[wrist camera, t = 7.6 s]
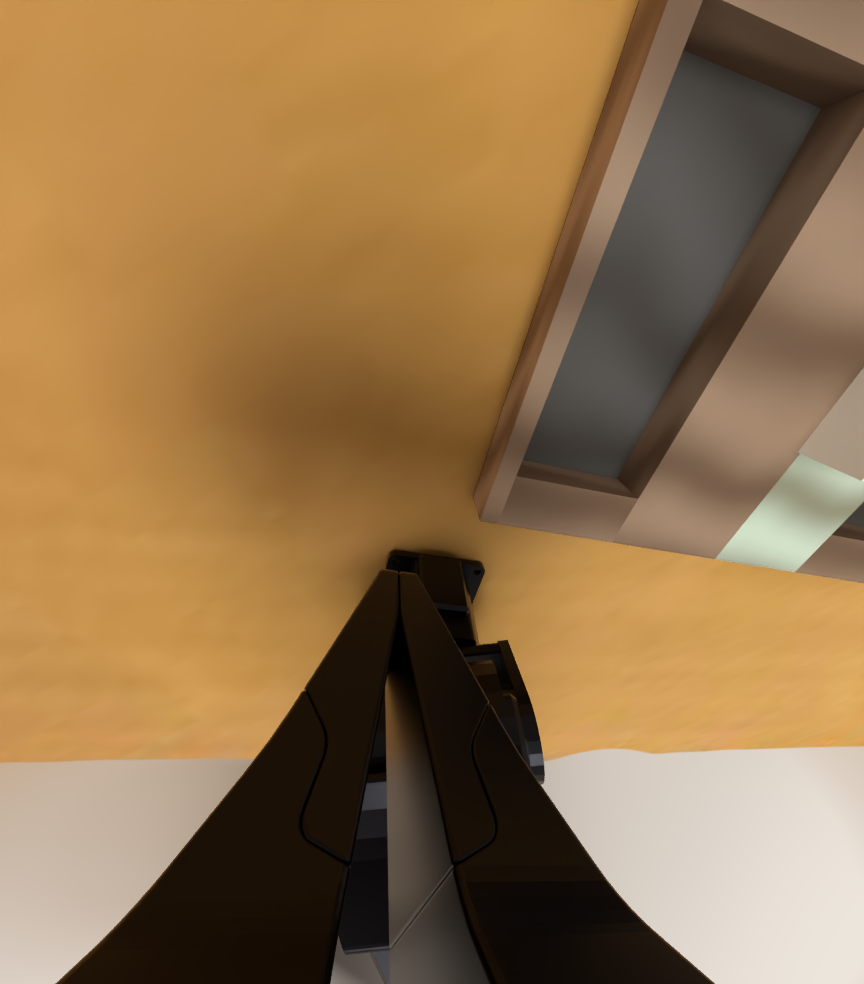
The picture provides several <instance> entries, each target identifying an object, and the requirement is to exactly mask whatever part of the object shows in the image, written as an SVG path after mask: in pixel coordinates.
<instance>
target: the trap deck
mask: <svg viewBox="0 0 864 984" xmlns="http://www.w3.org/2000/svg"><path fill="white" fill-rule="evenodd" d="M863 368H864V0H639V3H638V6H637V9H636V12H635V15H634V18H633V21H632V24H631V27H630V30H629V33H628V36H627V39H626V42H625V45H624V48H623V51H622V54H621V57H620V60H619V63H618V66H617V69H616V72H615V75H614V78H613V81H612V84H611V87H610V90H609V93H608V96H607V99H606V102H605V105H604V108H603V111H602V114H601V117H600V119H599V122H598V125H597V128H596V131H595V134H594V137H593V140H592V143H591V146H590V149H589V152H588V155H587V158H586V161H585V164H584V167H583V170H582V173H581V176H580V179H579V182H578V185H577V188H576V191H575V194H574V197H573V200H572V203H571V206H570V209H569V212H568V215H567V218H566V221H565V224H564V227H563V230H562V233H561V236H560V239H559V242H558V245H557V248H556V251H555V254H554V257H553V260H552V263H551V266H550V269H549V272H548V275H547V278H546V281H545V284H544V287H543V290H542V293H541V296H540V299H539V302H538V304H537V307H536V310H535V313H534V316H533V319H532V322H531V325H530V328H529V331H528V334H527V337H526V340H525V343H524V346H523V349H522V352H521V355H520V358H519V361H518V364H517V367H516V370H515V373H514V376H513V379H512V382H511V385H510V388H509V391H508V394H507V397H506V400H505V403H504V406H503V409H502V412H501V415H500V418H499V421H498V424H497V427H496V430H495V433H494V436H493V439H492V442H491V445H490V448H489V451H488V454H487V457H486V460H485V463H484V466H483V469H482V472H481V475H480V478H479V481H478V484H477V487H476V489H475V492H474V495H473V499H474V502H475V506H476V509H477V512H478V516H479V519H480V521H483V522H489V523H495V524H501V525H508V526H514V527H520V528H526V529H532V530H538V531H545V532H551V533H557V534H563V535H569V536H575V537H582V538H588V539H594V540H600V541H606V542H612V543H619V544H625V545H631V546H637V547H643V548H649V549H656V550H662V551H668V552H674V553H680V554H686V555H693V556H699V557H705V558H711V559H717V560H723V561H730V562H736V563H742V564H748V565H754V566H760V567H767V568H773V569H779V570H785V571H791V572H797V573H804V574H810V575H816V576H822V577H828V578H834V579H841V580H847V581H853V582H859V583H864V481H861V480H858V479H856V478H854V477H852V476H849V475H847V474H845V473H842V472H840V471H838V470H836V469H833V468H831V467H829V466H827V465H824V464H822V463H820V462H818V461H815V460H813V459H811V458H809V457H806V456H804V455H802V454H800V453H797V452H798V451H799V450H800V448H801V447H802V446H803V445H804V443H805V442H806V441H807V440H808V438H809V437H810V436H811V434H812V433H813V432H814V431H815V429H816V428H817V427H818V425H819V424H820V423H821V422H822V420H823V419H824V418H825V416H826V415H827V414H828V413H829V411H830V410H831V409H832V407H833V406H834V405H835V404H836V402H837V401H838V400H839V398H840V397H841V396H842V395H843V393H844V392H845V391H846V389H847V388H848V387H849V386H850V384H851V383H852V382H853V380H854V379H855V378H856V377H857V375H858V374H859V373H860V371H861V370H862V369H863Z"/></svg>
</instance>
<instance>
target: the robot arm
mask: <svg viewBox="0 0 864 984" xmlns="http://www.w3.org/2000/svg"><path fill="white" fill-rule="evenodd" d="M393 558H398V559H397V560H395V559H393ZM476 569H479V570H477V571H475V570H476ZM484 573H485V570H484V566H483V564H481V563H479V562H472V561H465V560H458V559H451V558H444V557H437V556H430V555H423V554H416V553H409V552H402V551H392V552H390V553H389V555H388V559H387V563H386V568H385V569H382V570H381V571H380V572H379V573H378V575H377V576H376V578H375V579H374V581H373V583H372V584H371V586H370V587H369V589H368V590H367V592H366V593H365V595H364V597H363V598H362V600H361V601H360V603H359V604H358V606H357V607H356V609H355V610H354V612H353V614H352V615H351V617H350V618H349V620H348V621H347V623H346V624H345V626H344V628H343V629H342V631H341V632H340V634H339V635H338V637H337V638H336V640H335V641H334V643H333V645H332V646H331V648H330V649H329V651H328V652H327V654H326V655H325V657H324V659H323V660H322V662H321V663H320V665H319V666H318V668H317V669H316V671H315V673H314V674H313V676H312V677H311V679H310V680H309V682H308V683H307V685H306V686H305V689H304V691H302V692H301V694H300V695H299V697H298V698H297V700H296V702H295V703H294V705H293V706H292V708H291V709H290V711H289V712H288V714H287V715H286V717H285V718H284V719H283V721H282V722H281V724H280V725H279V727H278V728H277V730H276V731H275V733H274V734H273V735H272V737H271V738H270V740H269V741H268V742H267V744H266V745H265V746H264V748H263V749H262V750H261V752H260V753H259V754H258V755H257V757H256V758H255V759H254V761H253V762H252V763H251V765H250V766H249V767H248V768H247V770H246V771H245V772H244V774H243V775H242V776H241V777H240V779H239V780H238V781H237V782H236V784H235V785H234V786H233V787H232V788H231V790H230V791H229V792H228V794H227V795H226V796H225V797H224V798H223V800H222V801H221V802H220V803H219V805H218V806H217V807H216V808H215V810H214V811H213V812H212V813H211V814H210V816H209V817H208V818H207V820H206V821H205V822H204V823H203V824H202V826H201V827H200V828H199V829H198V831H197V832H196V833H195V834H194V835H193V837H192V838H191V839H190V841H189V842H188V843H187V844H186V845H185V847H184V848H183V849H182V850H181V852H180V853H179V854H178V855H177V857H176V858H175V859H174V860H173V862H172V863H171V864H170V865H169V866H168V868H167V869H166V870H165V871H164V872H163V873H162V875H161V876H160V877H159V878H158V879H157V881H156V882H155V883H154V884H153V886H152V887H151V888H150V889H149V890H148V891H147V892H146V893H145V894H144V896H143V897H142V898H141V899H140V900H139V901H138V903H137V904H136V905H135V906H134V907H133V908H132V909H131V910H130V911H129V912H128V913H127V915H126V916H125V917H124V918H123V919H122V920H121V921H120V922H119V923H118V924H117V925H116V926H115V927H114V928H113V930H111V931H110V932H109V934H107V936H106V937H105V938H104V939H103V940H102V941H101V942H100V943H99V944H98V945H97V946H95V948H93V949H92V950H91V951H90V952H89V953H88V954H87V955H86V956H85V957H84V958H83V959H81V960H80V961H79V962H78V963H77V964H76V965H75V966H74V967H73V968H72V969H71V970H70V971H69V972H68V973H66V974H65V975H64V976H63V977H62V978H61V979H60V980H59V981H58V982H57V983H56V984H330V982H331V976H332V969H333V963H334V957H335V951H336V945H337V939H338V936H339V939H340V942H341V945H342V948H343V951H344V953H345V954H346V955H356V954H365V953H370V955H371V957H372V959H373V961H374V963H375V965H376V967H377V970H378V971H379V974H380V976H381V978H382V980H383V982H384V984H714V983H713V982H712V981H711V980H710V979H709V978H708V977H707V976H705V975H704V974H703V973H702V972H701V971H700V970H698V969H697V968H696V967H695V966H694V965H693V964H692V963H690V962H689V961H688V960H687V959H686V958H684V957H683V956H682V955H681V954H680V953H679V952H678V951H677V950H675V949H674V948H673V947H672V946H671V945H670V944H668V943H667V942H666V941H665V940H664V939H663V938H662V937H661V936H659V935H658V934H657V933H656V932H655V931H654V930H653V929H651V928H650V927H649V926H648V925H647V924H646V923H645V922H644V921H643V920H642V919H641V918H640V917H639V916H638V915H637V914H636V913H635V912H634V911H633V910H632V909H631V908H630V907H629V906H628V904H627V903H626V902H625V901H624V900H623V899H622V898H621V897H620V895H619V894H618V893H617V892H616V891H615V889H614V888H613V887H612V886H611V884H610V883H609V882H608V881H607V879H606V878H605V877H604V876H603V874H602V873H601V871H600V870H599V868H598V867H597V866H596V864H595V863H594V861H593V860H592V858H591V857H590V856H589V854H588V853H587V851H586V850H585V848H584V847H583V846H582V844H581V843H580V841H579V840H578V838H577V837H576V835H575V834H574V832H573V831H572V830H571V828H570V827H569V825H568V824H567V823H566V821H565V819H564V818H563V817H562V815H561V814H560V812H559V811H558V809H557V808H556V807H555V805H554V804H553V802H552V801H551V799H550V798H549V796H548V795H547V793H546V792H545V791H544V789H543V788H542V786H541V785H540V784H543V783H544V776H545V774H544V761H543V753H542V747H541V741H540V736H539V731H538V726H537V722H536V718H535V714H534V711H533V707H532V704H531V701H530V698H529V695H528V692H527V690H526V687H525V685H524V682H523V679H522V677H521V674H520V671H519V669H518V666H517V664H516V661H515V658H514V656H513V653H512V651H511V648H510V645H509V643H508V640H503V641H498V642H497V643H492V644H483V645H479V641H478V636H477V630H476V625H475V620H474V615H473V609H472V603H473V600H474V598H475V595H476V593H477V590H478V588H479V585H480V583H481V580H482V578H483V575H484Z"/></svg>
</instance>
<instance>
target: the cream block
mask: <svg viewBox="0 0 864 984" xmlns="http://www.w3.org/2000/svg"><path fill="white" fill-rule="evenodd" d="M797 453H800V454H802V455H804V456H806V457H809V458H811V459H813V460H815V461H818V462H820V463H822V464H824V465H827V466H829V467H831V468H833V469H836V470H838V471H840V472H842V473H845V474H847V475H849V476H852V477H854V478H856V479H858V480H861V481H864V368H863V369H862V370H861V371H860V373H859V374H858V375H857V377H856V378H855V379H854V380H853V382H852V383H851V384H850V386H849V387H848V388H847V389H846V391H845V392H844V393H843V395H842V396H841V397H840V398H839V400H838V401H837V402H836V404H835V405H834V406H833V407H832V409H831V410H830V411H829V413H828V414H827V415H826V416H825V418H824V419H823V420H822V422H821V423H820V424H819V425H818V427H817V428H816V429H815V431H814V432H813V433H812V434H811V436H810V437H809V438H808V440H807V441H806V442H805V443H804V445H803V446H802V447H801V448H800V450H799V451H798V452H797Z"/></svg>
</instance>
